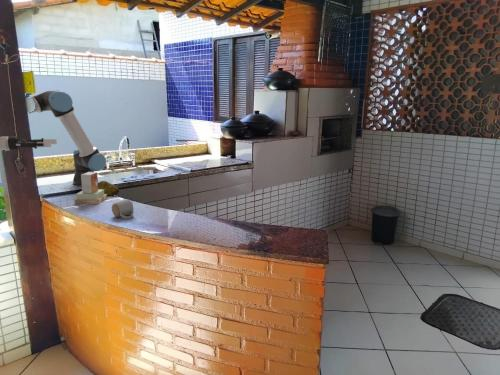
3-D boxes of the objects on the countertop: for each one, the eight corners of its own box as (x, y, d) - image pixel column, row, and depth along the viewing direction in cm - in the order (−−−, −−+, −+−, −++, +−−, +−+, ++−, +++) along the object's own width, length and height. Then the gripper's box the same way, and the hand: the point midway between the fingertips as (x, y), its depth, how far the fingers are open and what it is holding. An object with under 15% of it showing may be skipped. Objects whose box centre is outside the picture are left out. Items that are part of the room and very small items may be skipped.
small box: (91, 193, 200) (90, 174, 198) (81, 193, 200) (80, 174, 198) (98, 190, 208) (97, 172, 205) (89, 189, 208) (88, 171, 206)
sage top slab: (85, 194, 210) (84, 189, 210) (104, 194, 210) (103, 189, 210) (76, 199, 200) (76, 194, 199) (96, 199, 200) (96, 194, 199)
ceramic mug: (111, 215, 179) (110, 200, 177) (126, 212, 185) (125, 197, 183) (122, 221, 173) (121, 205, 171) (137, 217, 179) (137, 202, 177)
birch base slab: (84, 198, 212) (84, 193, 211) (107, 198, 212) (107, 194, 212) (75, 204, 199) (74, 199, 199) (99, 205, 200) (98, 199, 199)
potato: (109, 197, 213) (108, 184, 211) (95, 194, 219) (94, 181, 218) (120, 194, 220) (120, 181, 218) (106, 191, 226) (105, 179, 225)
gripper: (17, 147, 207) (59, 147, 212) (2, 153, 183) (49, 152, 189) (16, 134, 205) (57, 134, 211) (0, 138, 182) (47, 138, 187)
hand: (53, 143), depth 200 cm, fingers open, 13 cm apart
